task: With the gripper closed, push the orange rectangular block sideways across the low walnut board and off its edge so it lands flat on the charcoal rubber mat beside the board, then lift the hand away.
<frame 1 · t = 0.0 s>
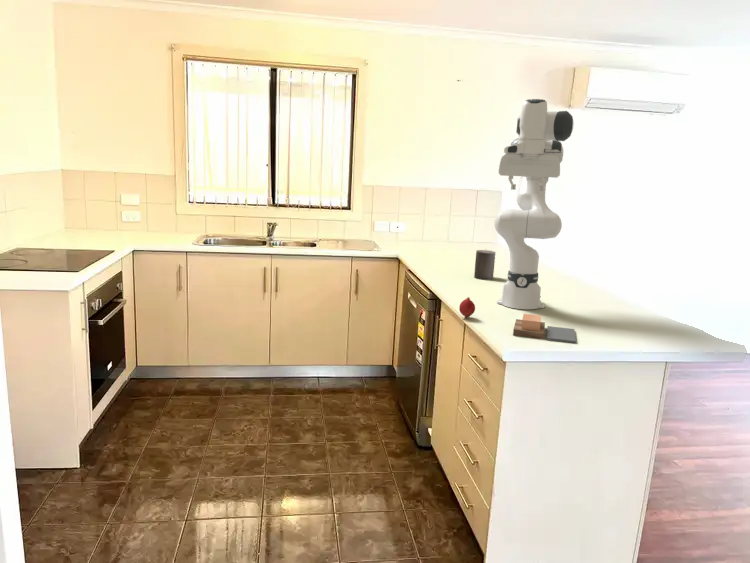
hand: (527, 190, 192), 48 cm above the worktop, tool pointing down, fingers open, 8 cm apart
pillar candle: (483, 278, 286), on the worktop
onion: (466, 318, 210), on the worktop
mat: (560, 335, 191), on the worktop
orange rectangular block: (531, 326, 194), point 2 cm above the worktop, touching board
board: (529, 331, 195), on the worktop
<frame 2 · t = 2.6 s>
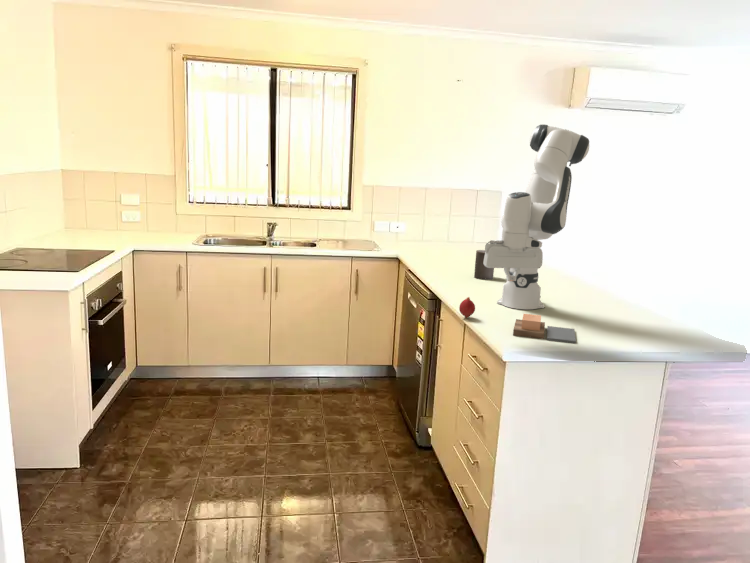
hand: (511, 280, 193), 17 cm above the worktop, tool pointing down, fingers closed
nothing on the worktop moved.
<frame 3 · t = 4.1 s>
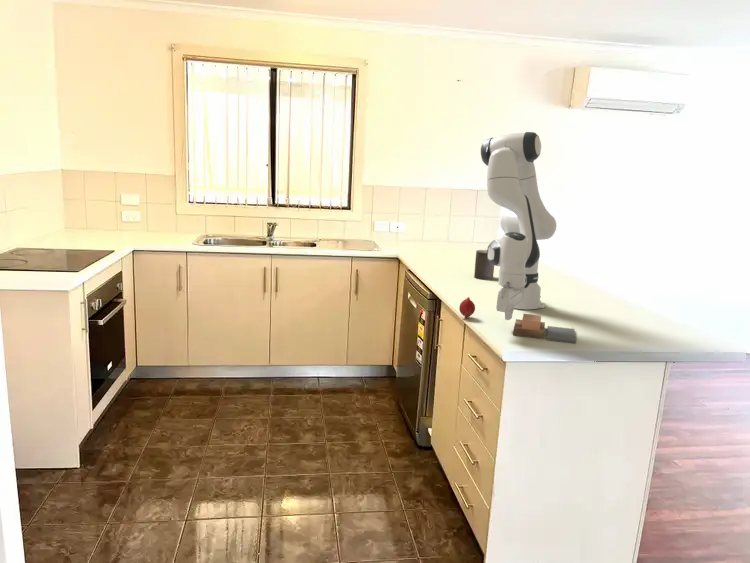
hand: (508, 319, 196), 4 cm above the worktop, tool pointing down, fingers closed
nothing on the worktop moved.
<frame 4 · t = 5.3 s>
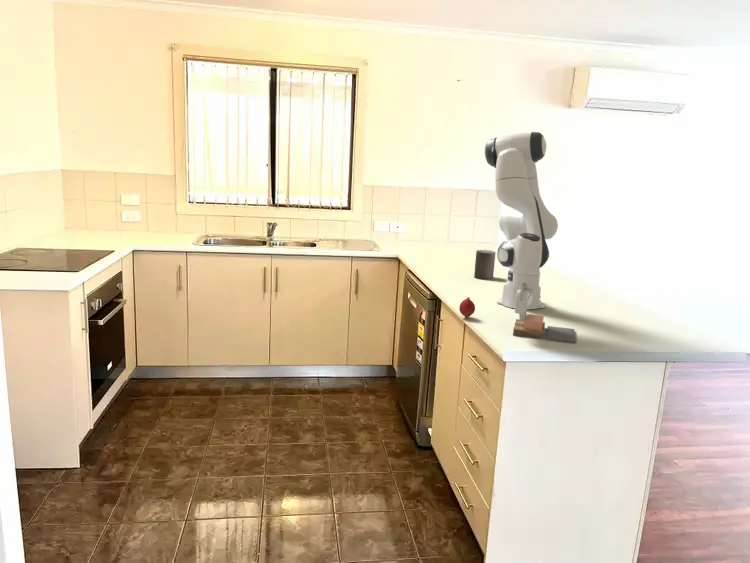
hand: (522, 320, 195), 4 cm above the worktop, tool pointing down, fingers closed
orange rectangular block: (533, 326, 194), point 2 cm above the worktop, touching gripper
everything else where it was.
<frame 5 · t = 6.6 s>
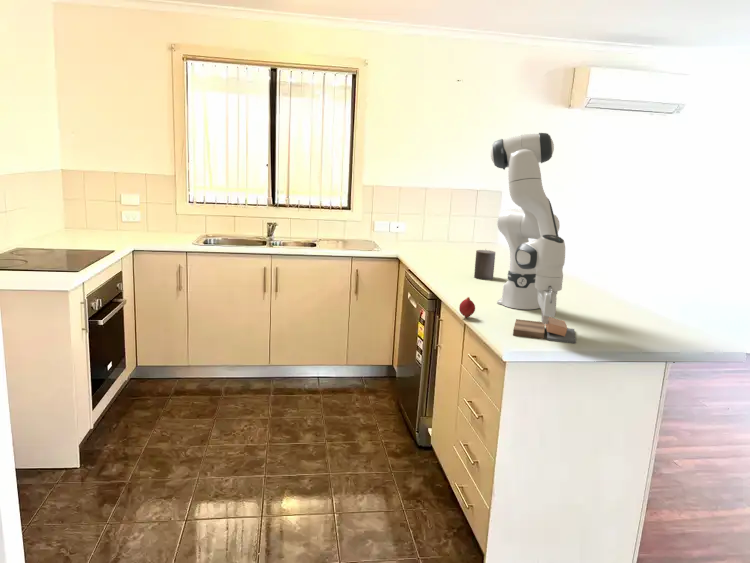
hand: (544, 322, 192), 4 cm above the worktop, tool pointing down, fingers closed
orange rectangular block: (554, 330, 192), point 1 cm above the worktop, tilted 11°, touching gripper
everything else where it was.
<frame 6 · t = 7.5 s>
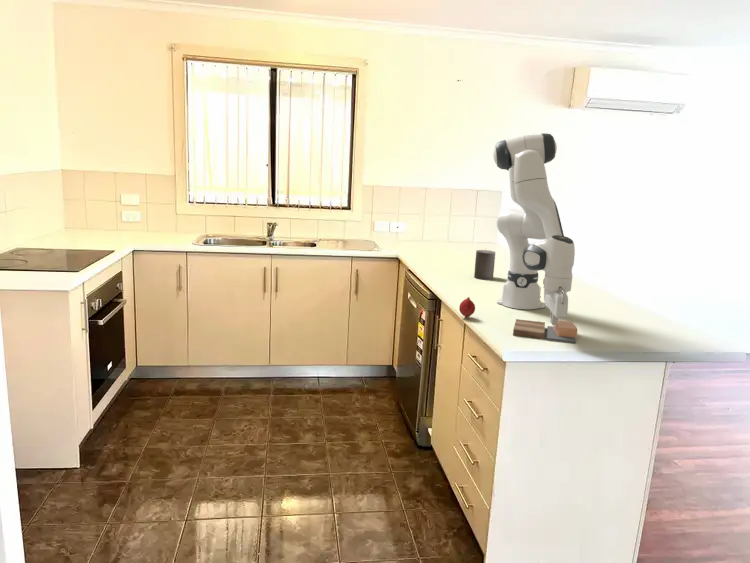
hand: (553, 323, 192), 4 cm above the worktop, tool pointing down, fingers closed, pressing on orange rectangular block
orange rectangular block: (564, 332, 192), point 1 cm above the worktop, touching gripper, mat
everything else where it was.
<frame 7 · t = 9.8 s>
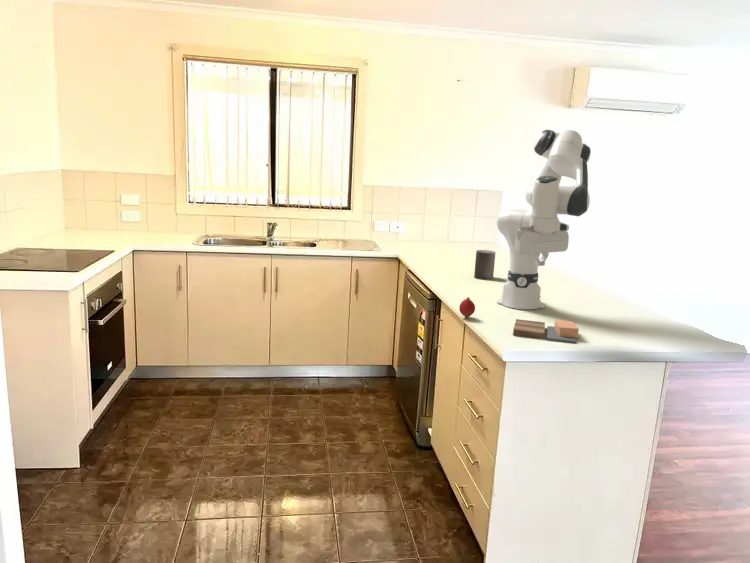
hand: (539, 265, 193), 23 cm above the worktop, tool pointing down, fingers closed
orange rectangular block: (565, 332, 192), point 1 cm above the worktop, touching mat
everything else where it was.
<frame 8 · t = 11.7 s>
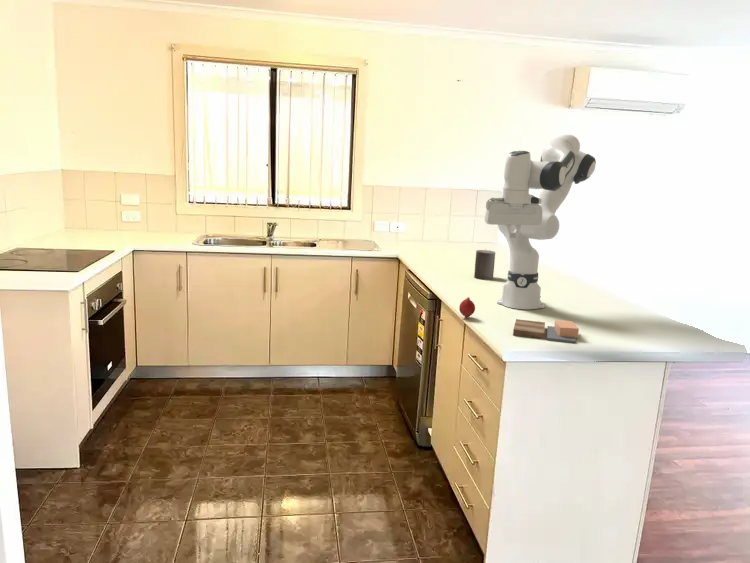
hand: (511, 237, 199), 31 cm above the worktop, tool pointing down, fingers closed
nothing on the worktop moved.
at the end: orange rectangular block inside the target area (1.2 cm from its centre), point 0.8 cm above the worktop; orange rectangular block tilted 0°; orange rectangular block touching mat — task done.
